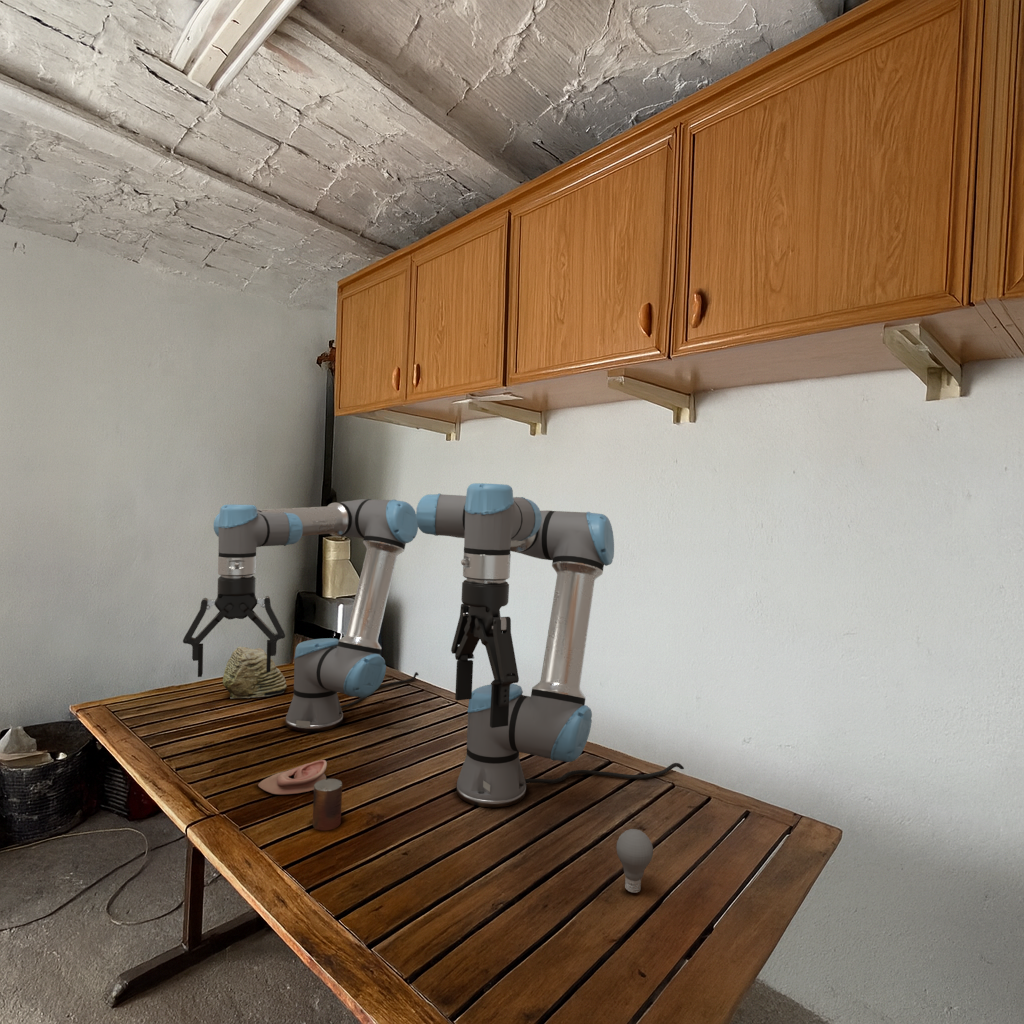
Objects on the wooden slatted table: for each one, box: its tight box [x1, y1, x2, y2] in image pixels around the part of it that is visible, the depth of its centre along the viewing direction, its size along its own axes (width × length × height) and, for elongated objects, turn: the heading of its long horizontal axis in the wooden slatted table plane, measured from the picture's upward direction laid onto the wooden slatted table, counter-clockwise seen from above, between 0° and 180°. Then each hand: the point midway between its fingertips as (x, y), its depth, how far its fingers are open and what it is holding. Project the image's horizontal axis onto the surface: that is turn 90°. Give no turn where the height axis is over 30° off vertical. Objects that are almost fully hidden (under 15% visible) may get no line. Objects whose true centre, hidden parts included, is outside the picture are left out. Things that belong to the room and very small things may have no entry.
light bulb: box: [615, 828, 654, 894], centre depth 106 cm, size 6×6×10 cm
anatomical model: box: [257, 759, 328, 795], centre depth 139 cm, size 13×4×12 cm
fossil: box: [222, 646, 288, 699], centre depth 198 cm, size 9×18×15 cm, turn 132°
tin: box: [312, 778, 343, 832], centre depth 123 cm, size 5×5×8 cm
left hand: (234, 672), depth 138 cm, fingers open, 13 cm apart
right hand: (480, 712), depth 102 cm, fingers open, 13 cm apart
